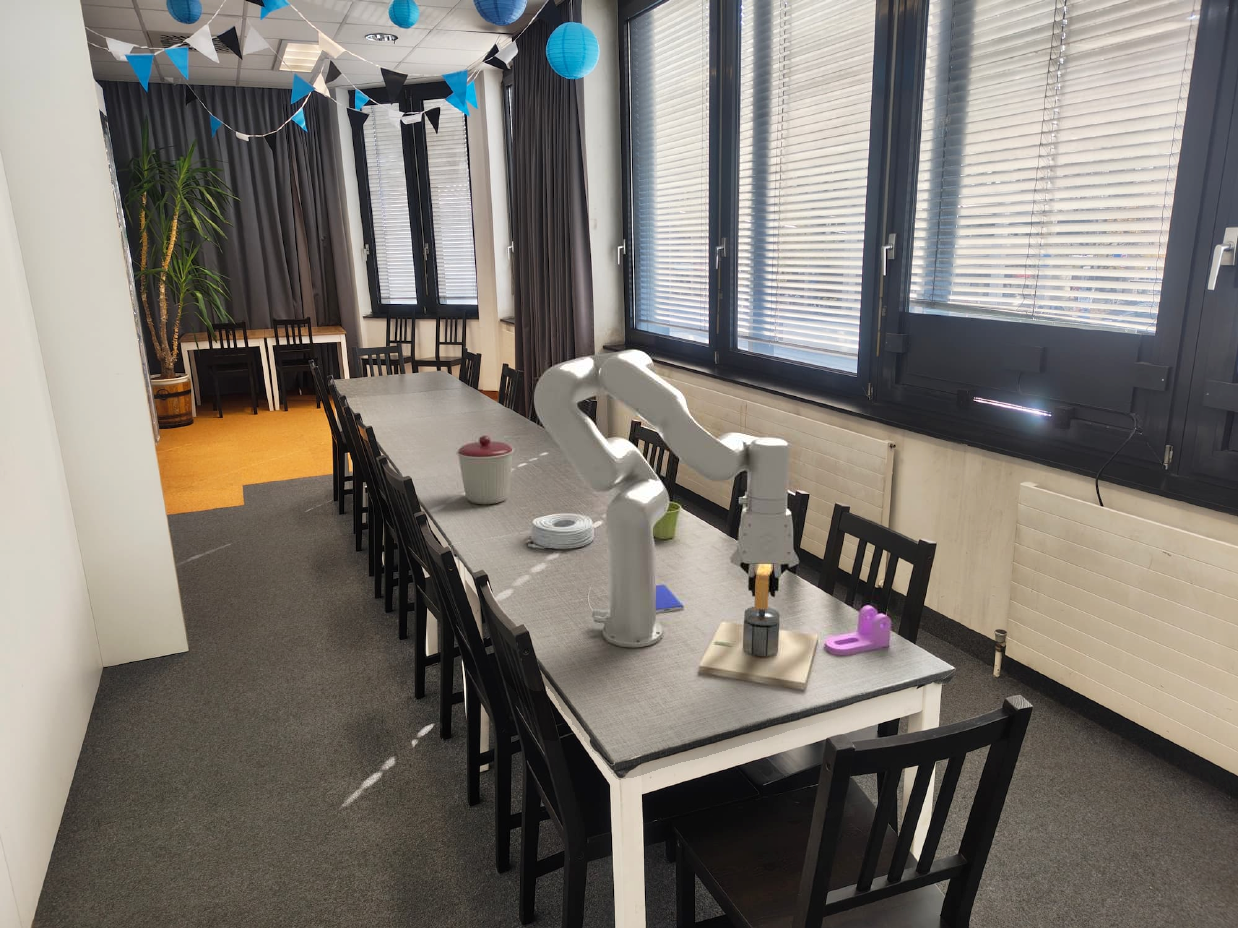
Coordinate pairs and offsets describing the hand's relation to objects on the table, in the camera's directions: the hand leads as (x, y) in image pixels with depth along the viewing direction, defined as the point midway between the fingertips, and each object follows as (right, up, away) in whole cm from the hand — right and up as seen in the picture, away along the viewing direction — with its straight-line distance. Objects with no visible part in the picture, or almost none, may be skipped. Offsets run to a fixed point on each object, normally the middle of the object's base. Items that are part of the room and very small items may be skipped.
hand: (763, 593), depth 161 cm
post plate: (0, -13, +3) cm, 14 cm away
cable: (-44, +4, +69) cm, 82 cm away
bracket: (+20, -12, +8) cm, 25 cm away
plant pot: (-15, +5, +71) cm, 73 cm away
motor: (0, -11, +4) cm, 12 cm away
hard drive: (-19, -7, +30) cm, 36 cm away
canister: (-70, +13, +105) cm, 127 cm away
